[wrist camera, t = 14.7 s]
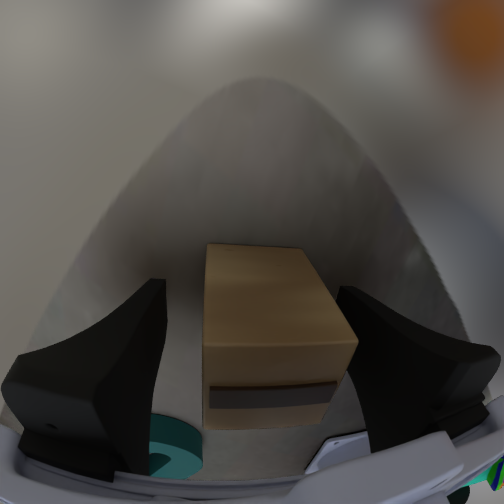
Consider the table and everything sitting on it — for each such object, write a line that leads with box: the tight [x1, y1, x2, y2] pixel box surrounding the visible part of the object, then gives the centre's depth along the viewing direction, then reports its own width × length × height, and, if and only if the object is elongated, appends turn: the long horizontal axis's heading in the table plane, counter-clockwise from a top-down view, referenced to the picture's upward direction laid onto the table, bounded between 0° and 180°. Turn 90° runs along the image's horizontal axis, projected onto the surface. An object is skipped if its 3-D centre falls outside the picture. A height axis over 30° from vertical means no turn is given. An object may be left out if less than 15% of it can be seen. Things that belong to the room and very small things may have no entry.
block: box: [202, 243, 358, 430], centre depth 10 cm, size 4×4×6 cm
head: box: [462, 455, 504, 491], centre depth 25 cm, size 13×15×20 cm
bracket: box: [149, 414, 203, 480], centre depth 16 cm, size 18×7×8 cm, turn 146°
